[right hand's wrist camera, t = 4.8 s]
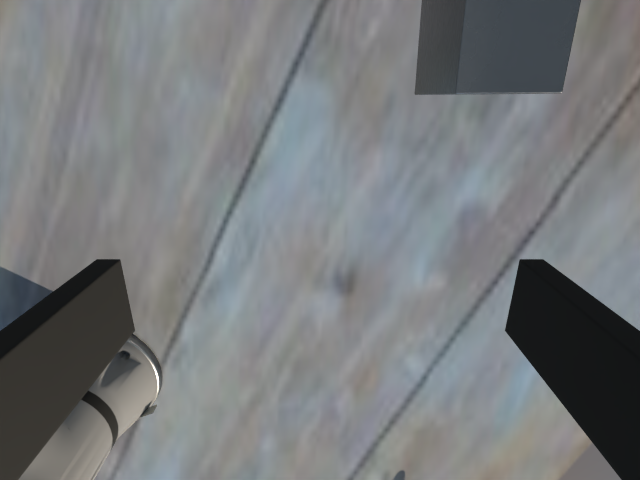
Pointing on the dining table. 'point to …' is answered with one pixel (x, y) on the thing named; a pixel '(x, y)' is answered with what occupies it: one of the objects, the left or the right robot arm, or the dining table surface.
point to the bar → (494, 46)
